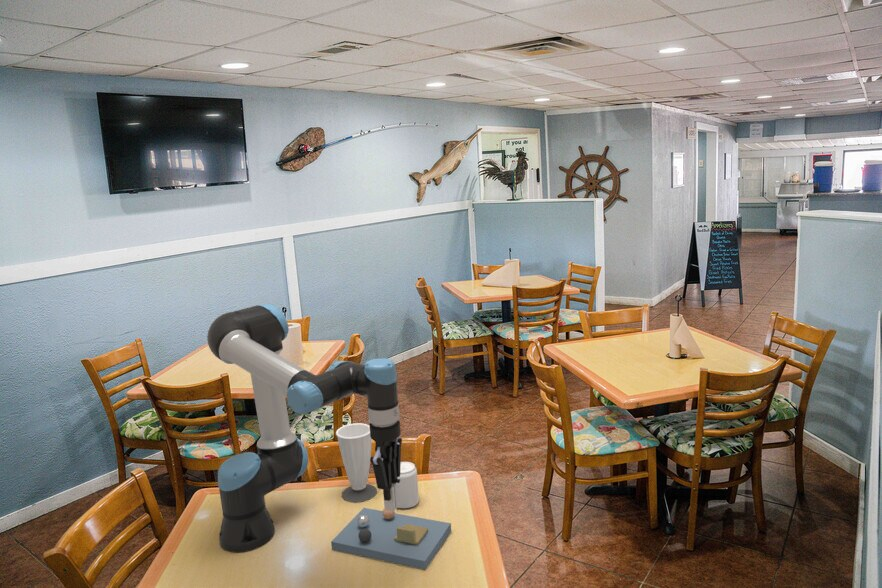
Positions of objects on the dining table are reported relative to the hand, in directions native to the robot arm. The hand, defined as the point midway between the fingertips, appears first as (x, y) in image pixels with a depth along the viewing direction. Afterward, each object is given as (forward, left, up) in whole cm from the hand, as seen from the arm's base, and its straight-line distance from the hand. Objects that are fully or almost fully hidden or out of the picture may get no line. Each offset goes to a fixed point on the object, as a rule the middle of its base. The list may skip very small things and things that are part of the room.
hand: (391, 508), depth 156 cm
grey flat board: (-6, +10, -16) cm, 20 cm away
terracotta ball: (-10, +16, -12) cm, 22 cm away
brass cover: (0, +10, -14) cm, 17 cm away
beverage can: (-11, +29, -17) cm, 35 cm away
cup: (-28, +30, -17) cm, 44 cm away
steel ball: (-15, +10, -12) cm, 22 cm away
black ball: (-11, +4, -12) cm, 17 cm away
